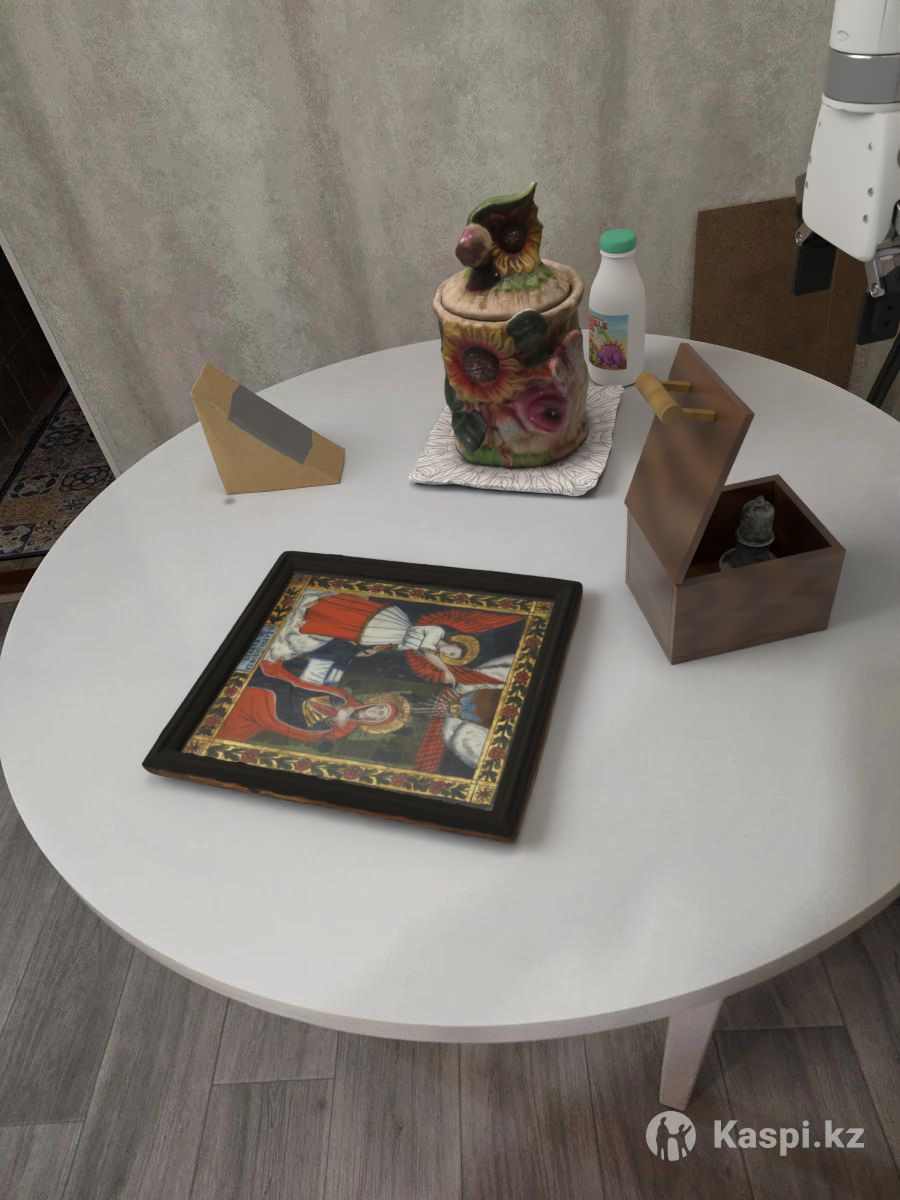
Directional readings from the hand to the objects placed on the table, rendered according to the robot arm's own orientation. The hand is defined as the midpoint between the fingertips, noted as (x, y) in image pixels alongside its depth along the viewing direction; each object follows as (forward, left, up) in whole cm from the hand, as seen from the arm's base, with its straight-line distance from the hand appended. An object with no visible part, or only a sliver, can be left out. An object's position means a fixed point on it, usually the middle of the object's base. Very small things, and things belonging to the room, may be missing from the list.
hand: (840, 314), depth 70 cm
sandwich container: (+24, -60, -29) cm, 71 cm away
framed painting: (+38, -20, -29) cm, 52 cm away
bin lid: (+11, -5, -11) cm, 17 cm away
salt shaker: (+5, -2, -28) cm, 29 cm away
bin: (+7, -3, -29) cm, 30 cm away
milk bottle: (-22, -43, -29) cm, 56 cm away
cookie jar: (-1, -41, -29) cm, 50 cm away
